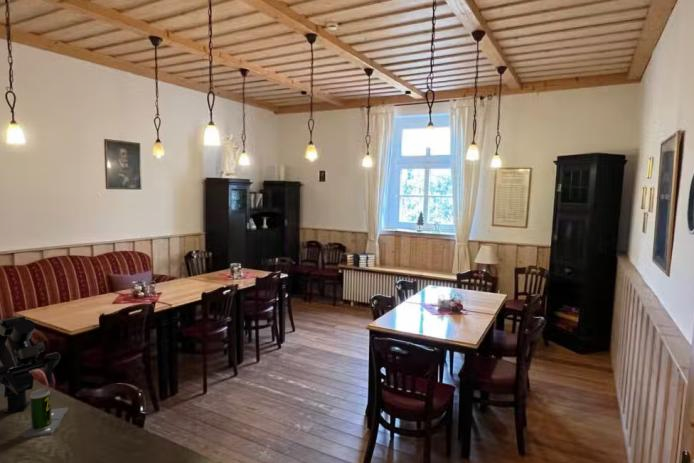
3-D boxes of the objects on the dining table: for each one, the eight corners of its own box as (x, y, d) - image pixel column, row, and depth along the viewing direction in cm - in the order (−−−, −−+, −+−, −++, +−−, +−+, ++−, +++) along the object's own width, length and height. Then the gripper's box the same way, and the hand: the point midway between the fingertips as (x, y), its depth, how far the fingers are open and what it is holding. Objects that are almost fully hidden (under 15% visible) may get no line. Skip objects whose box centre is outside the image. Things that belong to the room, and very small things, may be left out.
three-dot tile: (33, 424, 143) (33, 422, 143) (60, 421, 145) (60, 419, 145) (22, 437, 135) (22, 435, 135) (51, 434, 137) (51, 431, 137)
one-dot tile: (42, 412, 151) (42, 410, 151) (68, 409, 153) (68, 407, 153) (32, 424, 143) (32, 421, 143) (59, 420, 145) (59, 418, 145)
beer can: (30, 432, 136) (27, 396, 135) (33, 424, 141) (31, 390, 140) (50, 428, 139) (48, 393, 138) (53, 421, 143) (51, 386, 142)
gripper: (-9, 344, 136) (4, 386, 130) (57, 329, 151) (72, 367, 145) (-15, 362, 141) (-2, 403, 136) (49, 346, 156) (63, 383, 151)
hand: (34, 388), depth 142 cm, fingers open, 9 cm apart
